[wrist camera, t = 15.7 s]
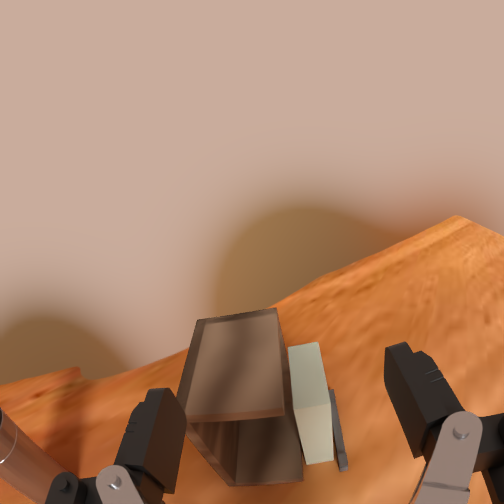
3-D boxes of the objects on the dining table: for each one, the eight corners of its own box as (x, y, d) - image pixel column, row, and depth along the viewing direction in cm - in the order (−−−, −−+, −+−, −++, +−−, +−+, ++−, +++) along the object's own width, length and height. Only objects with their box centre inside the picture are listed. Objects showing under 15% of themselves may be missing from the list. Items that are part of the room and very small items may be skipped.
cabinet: (229, 486, 30) (171, 415, 23) (235, 407, 43) (197, 319, 35) (348, 473, 28) (352, 394, 21) (333, 393, 41) (324, 298, 34)
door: (306, 464, 31) (293, 409, 25) (301, 412, 39) (287, 347, 33) (333, 460, 31) (330, 403, 25) (325, 408, 39) (318, 341, 33)
